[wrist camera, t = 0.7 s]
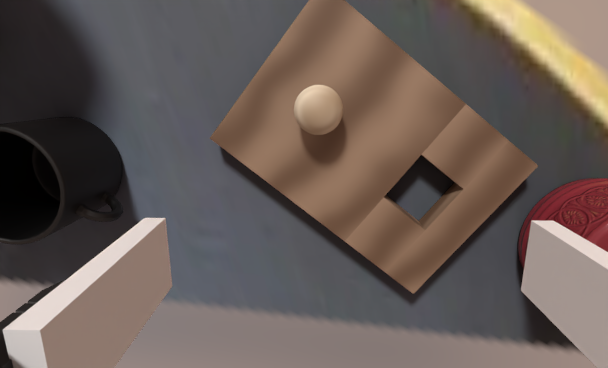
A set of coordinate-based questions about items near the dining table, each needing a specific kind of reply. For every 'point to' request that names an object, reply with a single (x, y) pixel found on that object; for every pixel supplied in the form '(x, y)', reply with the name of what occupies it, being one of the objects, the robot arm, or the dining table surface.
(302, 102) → the ball
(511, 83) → the dining table surface
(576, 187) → the canister
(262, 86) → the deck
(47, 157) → the mug
